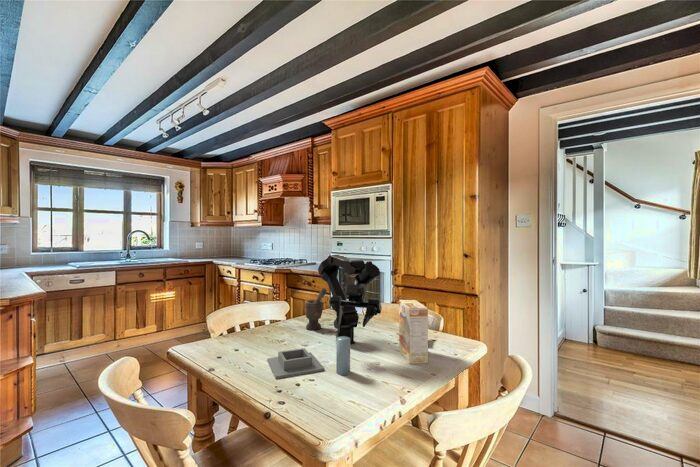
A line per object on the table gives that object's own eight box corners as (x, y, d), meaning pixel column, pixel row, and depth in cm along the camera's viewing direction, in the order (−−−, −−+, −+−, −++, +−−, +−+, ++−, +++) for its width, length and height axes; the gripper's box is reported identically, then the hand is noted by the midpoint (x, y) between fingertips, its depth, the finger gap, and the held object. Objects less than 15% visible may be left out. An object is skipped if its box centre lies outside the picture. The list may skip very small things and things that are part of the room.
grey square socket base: (310, 354, 121) (310, 344, 121) (324, 370, 106) (324, 359, 106) (267, 360, 115) (267, 350, 115) (275, 379, 100) (275, 366, 100)
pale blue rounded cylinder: (346, 368, 108) (347, 335, 108) (352, 373, 104) (352, 339, 104) (334, 370, 106) (334, 337, 106) (339, 376, 102) (339, 341, 102)
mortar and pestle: (331, 327, 158) (331, 286, 158) (324, 332, 149) (324, 289, 150) (309, 325, 161) (309, 285, 161) (301, 330, 153) (302, 287, 153)
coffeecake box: (398, 349, 127) (398, 299, 127) (416, 348, 128) (416, 299, 128) (408, 364, 112) (408, 307, 112) (428, 363, 113) (428, 307, 113)
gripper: (331, 274, 121) (319, 310, 110) (380, 276, 115) (372, 314, 104) (338, 292, 128) (327, 327, 117) (384, 295, 122) (377, 332, 112)
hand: (350, 325), depth 113 cm, fingers open, 9 cm apart
